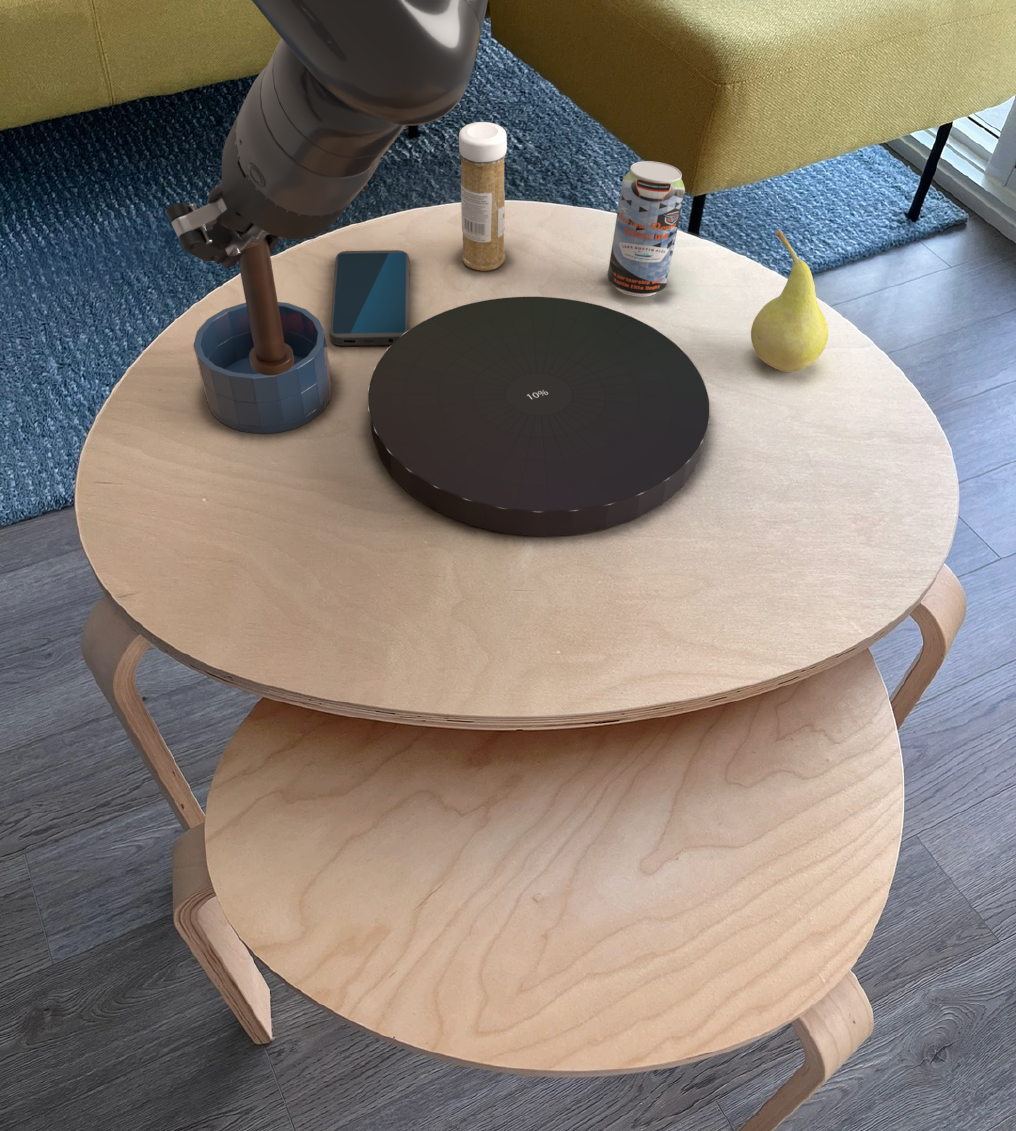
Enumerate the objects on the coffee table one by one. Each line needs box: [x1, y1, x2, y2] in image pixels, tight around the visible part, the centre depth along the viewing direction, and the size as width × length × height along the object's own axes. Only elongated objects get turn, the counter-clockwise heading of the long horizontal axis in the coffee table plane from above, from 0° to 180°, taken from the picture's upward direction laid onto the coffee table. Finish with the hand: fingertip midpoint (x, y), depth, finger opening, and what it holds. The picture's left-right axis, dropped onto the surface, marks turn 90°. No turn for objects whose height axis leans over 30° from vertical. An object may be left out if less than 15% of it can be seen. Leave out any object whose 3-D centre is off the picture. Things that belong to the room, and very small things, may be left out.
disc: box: [367, 295, 710, 537], centre depth 100 cm, size 30×30×3 cm
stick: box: [237, 236, 294, 376], centre depth 79 cm, size 3×3×12 cm
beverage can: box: [607, 160, 686, 298], centre depth 110 cm, size 6×7×12 cm
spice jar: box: [458, 121, 508, 271], centre depth 112 cm, size 5×5×13 cm
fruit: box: [750, 229, 829, 373], centre depth 102 cm, size 7×8×12 cm
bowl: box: [193, 301, 332, 435], centre depth 100 cm, size 11×11×6 cm
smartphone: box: [329, 249, 410, 346], centre depth 111 cm, size 8×15×1 cm, turn 3°
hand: (240, 247), depth 78 cm, fingers closed on stick, 2 cm apart
